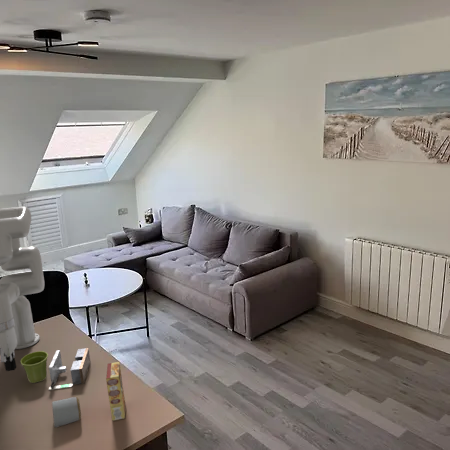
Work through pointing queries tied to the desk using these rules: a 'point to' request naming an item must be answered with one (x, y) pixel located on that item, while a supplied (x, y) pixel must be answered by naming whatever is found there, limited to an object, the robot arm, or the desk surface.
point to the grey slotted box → (78, 369)
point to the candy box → (115, 391)
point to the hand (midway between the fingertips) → (11, 369)
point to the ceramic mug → (66, 411)
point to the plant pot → (35, 366)
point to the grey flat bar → (56, 368)
